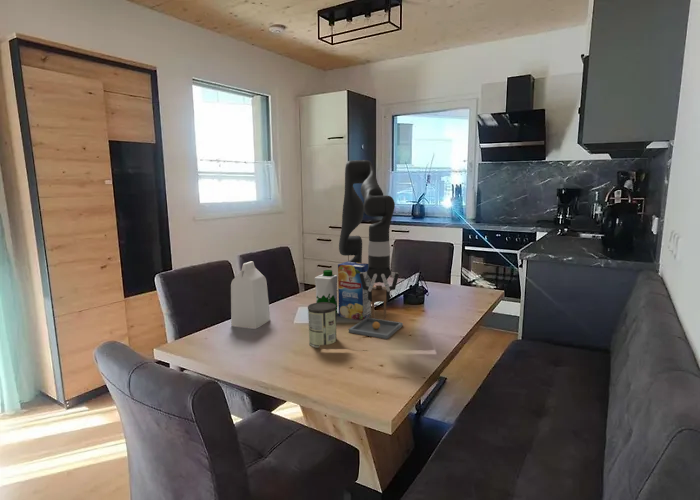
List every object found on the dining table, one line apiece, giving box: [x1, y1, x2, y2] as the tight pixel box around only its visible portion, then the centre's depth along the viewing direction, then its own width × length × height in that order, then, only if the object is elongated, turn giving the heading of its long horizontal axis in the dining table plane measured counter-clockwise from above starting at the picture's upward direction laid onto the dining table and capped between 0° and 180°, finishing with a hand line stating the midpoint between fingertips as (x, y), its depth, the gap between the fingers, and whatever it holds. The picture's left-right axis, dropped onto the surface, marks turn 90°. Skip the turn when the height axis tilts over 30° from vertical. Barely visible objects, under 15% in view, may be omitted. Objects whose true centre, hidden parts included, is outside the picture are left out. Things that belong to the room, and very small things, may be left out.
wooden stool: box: [371, 284, 387, 319], centre depth 149 cm, size 5×5×11 cm
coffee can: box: [307, 302, 337, 349], centre depth 154 cm, size 10×10×14 cm
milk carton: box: [314, 269, 338, 314], centre depth 185 cm, size 9×9×20 cm
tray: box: [348, 317, 404, 340], centre depth 166 cm, size 16×16×2 cm
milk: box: [230, 260, 271, 330], centre depth 177 cm, size 12×12×26 cm
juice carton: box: [337, 261, 372, 321], centre depth 181 cm, size 12×8×24 cm, turn 60°
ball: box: [372, 322, 380, 329], centre depth 166 cm, size 3×3×3 cm
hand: (379, 301), depth 149 cm, fingers closed on wooden stool, 5 cm apart
